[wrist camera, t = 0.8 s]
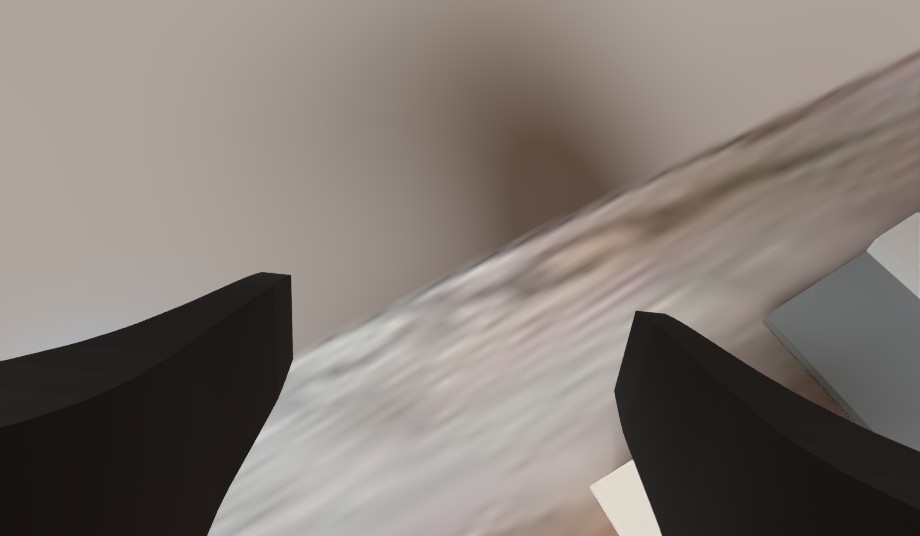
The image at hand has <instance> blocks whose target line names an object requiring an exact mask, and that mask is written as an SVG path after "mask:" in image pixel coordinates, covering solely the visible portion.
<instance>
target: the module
mask: <svg viewBox="0 0 920 536" xmlns="http://www.w3.org/2000/svg"><path fill="white" fill-rule="evenodd" d="M590 488H591V490H592V492H593V493H594V495H595V497H596V498H597V500H598V501H599V503H600V505H601V506H602V508H603V510H604V511H605V513H606V514H607V516H608V518H609V519H610V521H611V523H612V524H613V526H614V527H615V529H616V531H617V532H618V534H619V536H662V535H661V532H660V529H659V526H658V523H657V521H656V518H655V516H654V513H653V510H652V508H651V505H650V503H649V500H648V497H647V495H646V492H645V490H644V487H643V484H642V482H641V479H640V476H639V474H638V471H637V469H636V466H635V463H634V461H633V460H631V461H629V462H628V463H626V464H625V465H623V466H621V467H620V468H618V469H617V470H615V471H614V472H612V473H610V474H609V475H607V476H606V477H604V478H602V479H601V480H599V481H598V482H596V483H595V484H593V485H591V486H590Z"/></svg>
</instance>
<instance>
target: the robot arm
mask: <svg viewBox="0 0 920 536" xmlns="http://www.w3.org/2000/svg"><path fill="white" fill-rule="evenodd" d="M291 296H292V295H291V275H285V274H275V273H265V272H260V273H257V274H254V275H251V276H248V277H246V278H243V279H241V280H238V281H236V282H234V283H232V284H230V285H227V286H225V287H223V288H220V289H218V290H216V291H214V292H212V293H209V294H207V295H205V296H203V297H201V298H198V299H196V300H194V301H191V302H189V303H187V304H184V305H182V306H179V307H177V308H174V309H172V310H169V311H167V312H164V313H162V314H159V315H157V316H154V317H152V318H150V319H147V320H145V321H142V322H139V323H137V324H134V325H131V326H129V327H126V328H122V329H119V330H117V331H114V332H111V333H107V334H105V335H101V336H98V337H95V338H91V339H88V340H84V341H81V342H78V343H74V344H70V345H67V346H63V347H58V348H55V349H51V350H46V351H42V352H38V353H34V354H30V355H25V356H21V357H17V358H13V359H9V360H4V361H0V536H207V535H208V532H209V530H210V528H211V525H212V523H213V521H214V518H215V516H216V513H217V511H218V509H219V507H220V505H221V503H222V501H223V499H224V497H225V495H226V493H227V491H228V489H229V487H230V485H231V483H232V481H233V480H234V478H235V476H236V474H237V472H238V471H239V469H240V467H241V465H242V464H243V462H244V460H245V458H246V456H247V455H248V453H249V451H250V449H251V447H252V446H253V444H254V442H255V440H256V438H257V437H258V435H259V433H260V431H261V429H262V428H263V426H264V424H265V422H266V420H267V418H268V417H269V415H270V413H271V411H272V409H273V407H274V406H275V404H276V402H277V400H278V398H279V395H280V393H281V390H282V388H283V385H284V382H285V380H286V377H287V374H288V371H289V369H290V366H291V363H292V360H293V342H292V341H293V339H292V297H291ZM614 392H615V397H616V403H617V408H618V413H619V417H620V421H621V426H622V430H623V433H624V436H625V439H626V442H627V445H628V447H629V450H630V453H631V455H632V458H633V461H634V463H635V466H636V469H637V471H638V474H639V476H640V479H641V482H642V484H643V487H644V490H645V492H646V495H647V497H648V500H649V503H650V505H651V508H652V510H653V513H654V516H655V518H656V521H657V523H658V526H659V529H660V532H661V535H662V536H920V451H917V450H915V449H912V448H910V447H908V446H905V445H903V444H901V443H898V442H896V441H893V440H891V439H889V438H886V437H884V436H882V435H879V434H877V433H875V432H872V431H870V430H868V429H866V428H864V427H861V426H859V425H857V424H855V423H853V422H851V421H849V420H847V419H845V418H843V417H841V416H839V415H837V414H835V413H833V412H831V411H829V410H827V409H825V408H823V407H821V406H819V405H817V404H815V403H813V402H811V401H809V400H807V399H805V398H803V397H801V396H800V395H798V394H796V393H794V392H792V391H791V390H789V389H787V388H785V387H784V386H782V385H780V384H779V383H777V382H775V381H774V380H772V379H770V378H768V377H767V376H765V375H763V374H762V373H760V372H758V371H757V370H755V369H754V368H752V367H750V366H749V365H747V364H746V363H744V362H742V361H741V360H739V359H738V358H736V357H735V356H733V355H731V354H730V353H728V352H727V351H725V350H724V349H722V348H721V347H719V346H718V345H716V344H715V343H713V342H711V341H710V340H708V339H707V338H705V337H704V336H702V335H701V334H699V333H698V332H696V331H695V330H693V329H691V328H690V327H688V326H687V325H685V324H683V323H682V322H680V321H678V320H676V319H675V318H673V317H671V316H669V315H666V314H662V313H653V312H643V311H636V312H635V316H634V319H633V323H632V327H631V330H630V334H629V338H628V342H627V345H626V349H625V353H624V356H623V360H622V364H621V368H620V371H619V375H618V379H617V382H616V386H615V390H614Z"/></svg>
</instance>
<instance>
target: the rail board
mask: <svg viewBox="0 0 920 536" xmlns="http://www.w3.org/2000/svg"><path fill="white" fill-rule="evenodd" d="M763 323H764V324H765V325H766V326H767V327H768V328H769V329H770V330H771V331H772V332H773V333H774V335H775V336H776V337H777V338H778V339H779V340H780V341H781V342H782V343H783V344H784V345H785V347H786V348H787V349H788V350H789V351H790V352H791V353H792V354H793V355H794V356H795V358H796V359H797V360H798V361H799V362H800V363H801V364H802V365H803V366H804V367H805V368H806V370H807V371H808V372H809V373H810V374H811V375H812V376H813V377H814V378H815V379H816V380H817V382H818V383H819V384H820V385H821V386H822V387H823V388H824V389H825V390H826V391H827V392H828V394H829V395H830V396H831V397H832V398H833V399H834V400H835V401H836V402H837V403H838V405H839V406H840V407H841V408H842V409H843V410H844V411H845V412H846V413H847V414H848V415H849V417H850V418H851V419H852V420H853V421H854V422H855V423H856V424H857V425H859V426H861V427H864V428H866V429H868V430H870V431H872V432H875V433H877V434H879V435H882V436H884V437H886V438H889V439H891V440H893V441H896V442H898V443H901V444H903V445H905V446H908V447H910V448H912V449H915V450H917V451H920V213H919V212H916V213H915V214H913V215H912V216H910V217H909V218H907V219H905V220H904V221H902V222H901V223H899V224H898V225H896V226H895V227H893V228H892V229H890V230H888V231H887V232H885V233H884V234H882V235H881V236H879V237H878V238H876V239H875V241H874V242H873V243H872V244H871V245H870V247H869V248H868V249H867V250H866V251H865V252H864V253H862V254H860V255H859V256H857V257H856V258H854V259H853V260H851V261H850V262H848V263H846V264H845V265H843V266H842V267H840V268H839V269H837V270H836V271H834V272H833V273H831V274H829V275H828V276H826V277H825V278H823V279H822V280H820V281H819V282H817V283H816V284H814V285H812V286H811V287H809V288H808V289H806V290H805V291H803V292H802V293H800V294H798V295H797V296H795V297H794V298H792V299H791V300H789V301H788V302H786V303H785V304H783V305H781V306H780V307H778V308H777V309H775V310H774V311H772V312H771V313H769V314H767V315H766V317H765V319H764V321H763Z"/></svg>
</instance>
